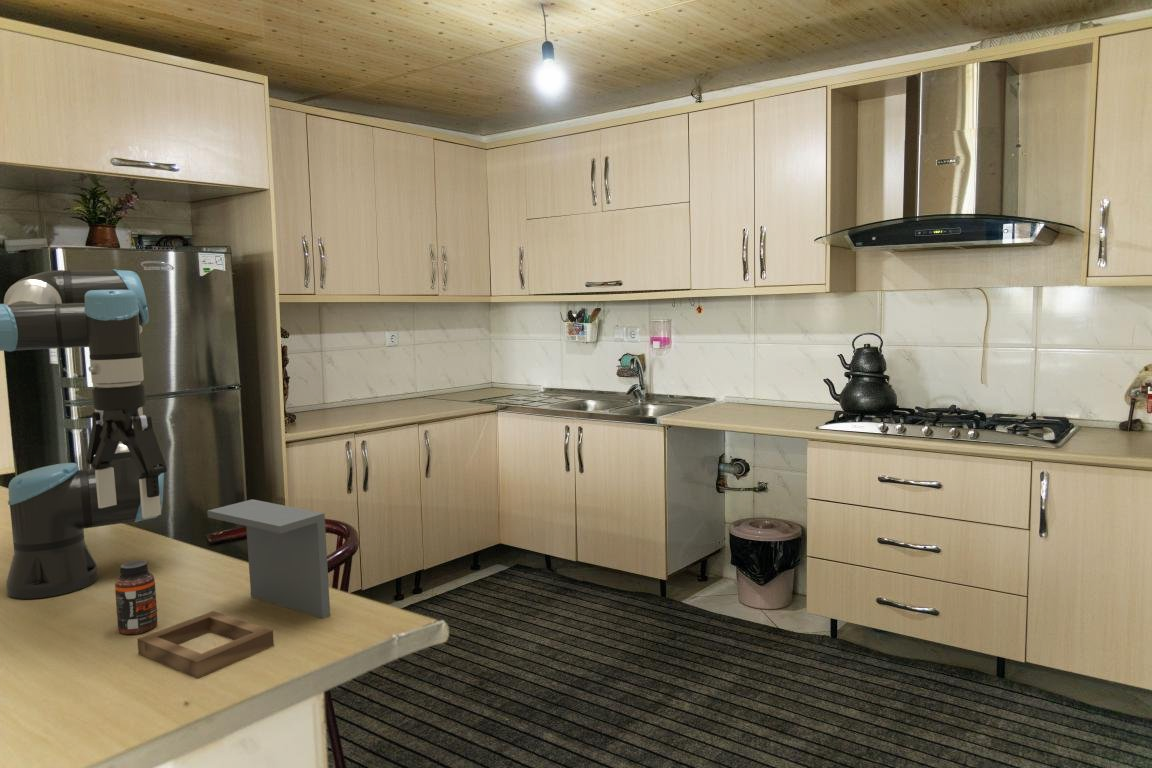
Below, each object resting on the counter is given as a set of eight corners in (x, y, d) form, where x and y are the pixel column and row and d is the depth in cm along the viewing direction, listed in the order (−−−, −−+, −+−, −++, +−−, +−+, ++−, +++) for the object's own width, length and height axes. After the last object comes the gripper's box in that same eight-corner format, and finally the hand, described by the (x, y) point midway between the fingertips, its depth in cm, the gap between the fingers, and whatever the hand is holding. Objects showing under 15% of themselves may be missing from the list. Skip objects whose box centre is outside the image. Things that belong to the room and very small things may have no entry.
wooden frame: (138, 653, 129) (137, 638, 128) (214, 625, 139) (213, 610, 139) (198, 678, 120) (196, 661, 120) (273, 645, 131) (272, 630, 130)
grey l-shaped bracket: (214, 610, 146) (207, 510, 144) (258, 594, 153) (252, 499, 151) (286, 633, 135) (280, 526, 133) (330, 615, 143) (324, 513, 140)
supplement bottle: (141, 637, 135) (135, 570, 134) (110, 634, 136) (104, 569, 135) (166, 622, 141) (161, 558, 140) (136, 620, 142) (130, 557, 141)
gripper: (56, 383, 138) (67, 507, 140) (137, 390, 124) (148, 526, 126) (102, 379, 144) (112, 497, 146) (183, 384, 130) (193, 515, 133)
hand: (129, 511), depth 136 cm, fingers open, 13 cm apart
